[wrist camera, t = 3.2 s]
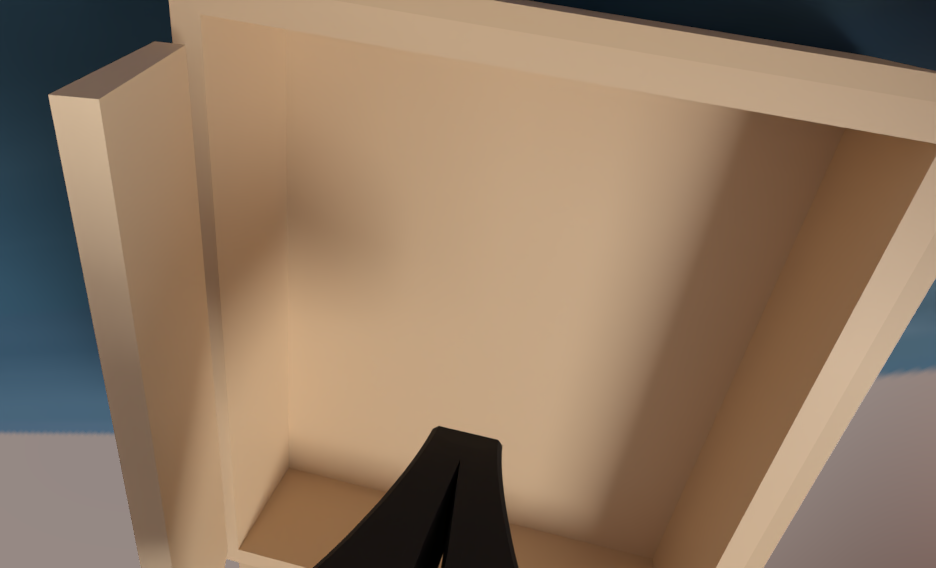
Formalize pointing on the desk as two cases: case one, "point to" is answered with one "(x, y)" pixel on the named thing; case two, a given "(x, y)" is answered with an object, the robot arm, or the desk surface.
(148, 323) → the carton flap
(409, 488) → the robot arm
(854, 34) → the desk surface
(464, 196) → the carton
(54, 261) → the desk surface
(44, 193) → the desk surface
